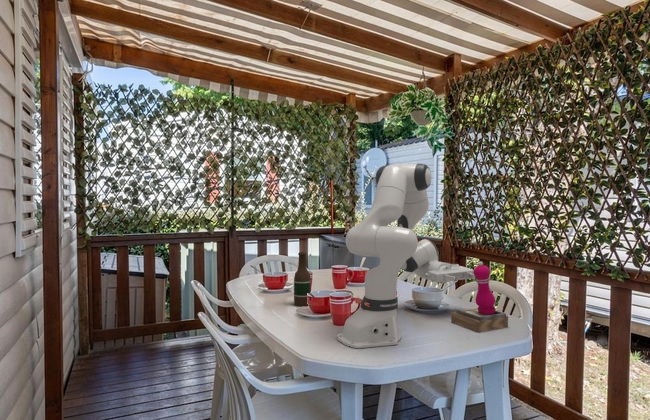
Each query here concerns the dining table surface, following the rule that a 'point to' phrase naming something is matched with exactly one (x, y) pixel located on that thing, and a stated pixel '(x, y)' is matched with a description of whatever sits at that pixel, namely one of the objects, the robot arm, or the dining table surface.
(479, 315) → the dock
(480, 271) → the pepper mill
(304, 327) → the dining table surface
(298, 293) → the beer bottle
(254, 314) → the dining table surface
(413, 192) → the robot arm
